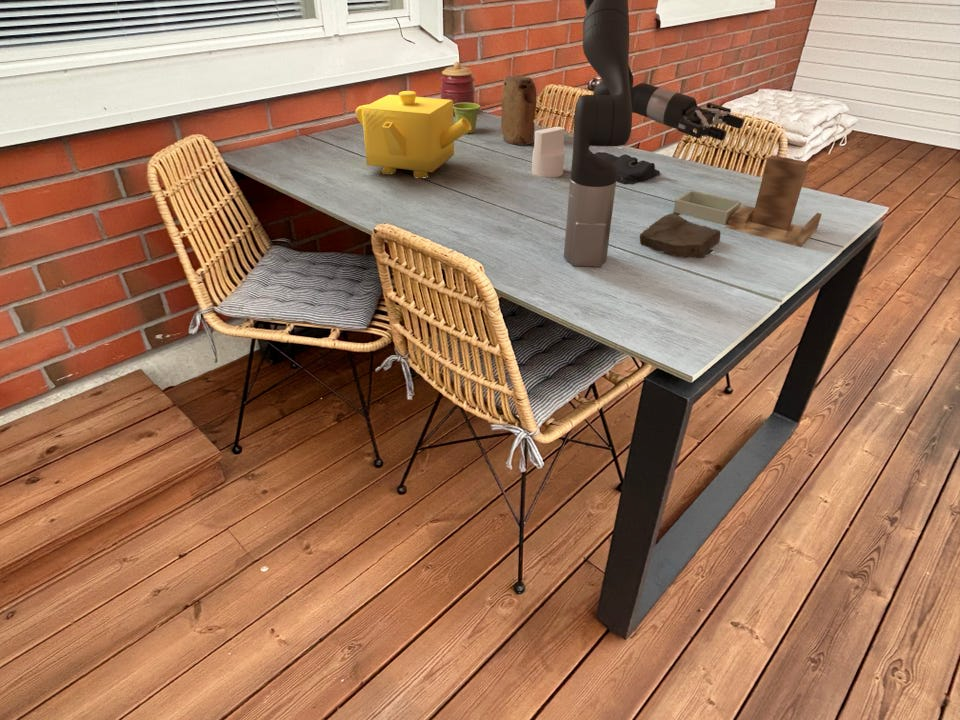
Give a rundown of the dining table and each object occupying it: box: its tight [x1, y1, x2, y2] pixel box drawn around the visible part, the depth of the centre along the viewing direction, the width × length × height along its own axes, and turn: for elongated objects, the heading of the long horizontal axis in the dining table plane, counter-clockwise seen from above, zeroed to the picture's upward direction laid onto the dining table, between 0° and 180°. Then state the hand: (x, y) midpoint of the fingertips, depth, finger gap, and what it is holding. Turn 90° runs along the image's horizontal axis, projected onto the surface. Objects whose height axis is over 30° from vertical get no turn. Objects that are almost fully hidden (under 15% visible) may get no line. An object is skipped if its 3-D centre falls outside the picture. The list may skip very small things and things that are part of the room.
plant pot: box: [453, 102, 481, 135], centre depth 220 cm, size 9×9×9 cm
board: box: [751, 155, 810, 231], centre depth 147 cm, size 8×3×16 cm, turn 51°
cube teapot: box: [355, 90, 472, 179], centre depth 183 cm, size 35×30×21 cm
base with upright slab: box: [531, 126, 566, 178], centre depth 184 cm, size 9×9×12 cm
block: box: [500, 75, 537, 146], centre depth 207 cm, size 11×8×20 cm
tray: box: [672, 189, 742, 226], centre depth 159 cm, size 13×9×4 cm
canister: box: [439, 61, 476, 117], centre depth 240 cm, size 13×13×18 cm
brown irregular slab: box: [639, 212, 721, 259], centre depth 145 cm, size 17×15×4 cm
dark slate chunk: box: [594, 151, 661, 185], centre depth 188 cm, size 15×22×5 cm
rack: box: [724, 204, 822, 248], centre depth 150 cm, size 17×12×5 cm
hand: (733, 129), depth 146 cm, fingers open, 8 cm apart
